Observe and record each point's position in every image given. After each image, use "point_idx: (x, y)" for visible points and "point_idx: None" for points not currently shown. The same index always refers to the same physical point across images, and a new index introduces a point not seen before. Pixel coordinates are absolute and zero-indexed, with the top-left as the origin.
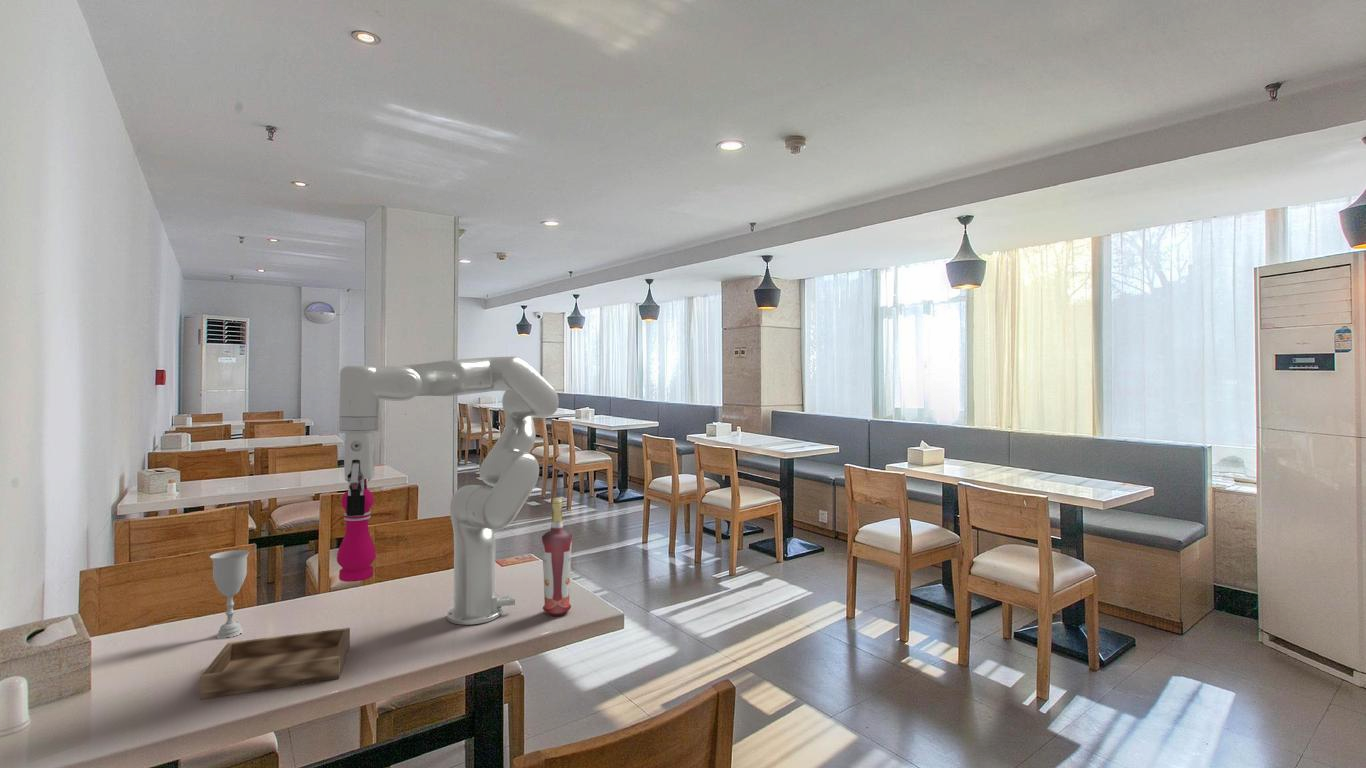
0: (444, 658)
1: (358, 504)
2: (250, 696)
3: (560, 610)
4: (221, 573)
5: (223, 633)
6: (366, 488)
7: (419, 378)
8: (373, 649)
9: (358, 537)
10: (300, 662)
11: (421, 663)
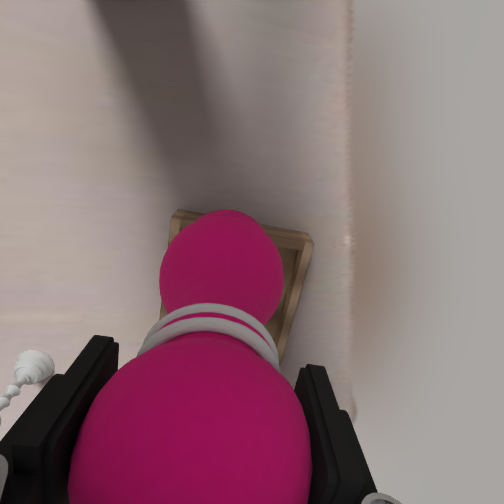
0: (331, 57)
1: (358, 452)
2: (295, 329)
3: None
4: None
5: (46, 375)
6: (7, 475)
7: None
8: (213, 174)
9: (266, 311)
10: (297, 293)
11: (327, 104)
